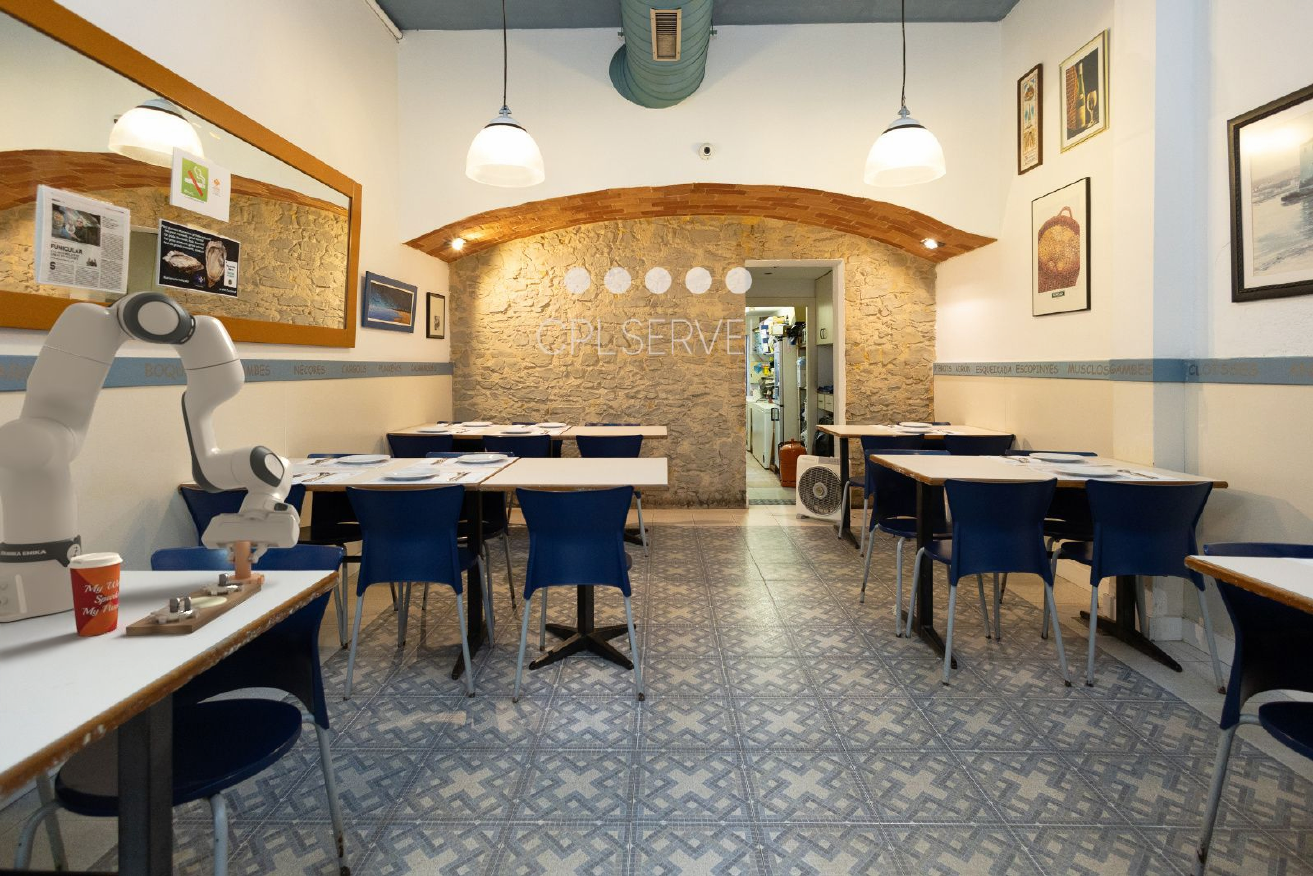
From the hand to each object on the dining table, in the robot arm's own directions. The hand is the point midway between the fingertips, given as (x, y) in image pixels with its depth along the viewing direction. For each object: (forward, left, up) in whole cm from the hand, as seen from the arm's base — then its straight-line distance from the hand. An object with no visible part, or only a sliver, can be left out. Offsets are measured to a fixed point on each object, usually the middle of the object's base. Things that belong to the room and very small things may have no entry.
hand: (241, 562), depth 151 cm
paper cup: (-11, -30, -6) cm, 33 cm away
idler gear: (0, +1, -5) cm, 5 cm away
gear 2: (+1, -10, -4) cm, 11 cm away
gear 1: (+1, -28, -4) cm, 29 cm away
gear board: (+1, -19, -5) cm, 20 cm away
